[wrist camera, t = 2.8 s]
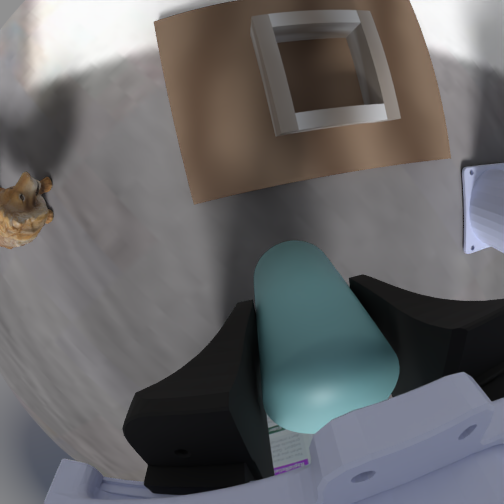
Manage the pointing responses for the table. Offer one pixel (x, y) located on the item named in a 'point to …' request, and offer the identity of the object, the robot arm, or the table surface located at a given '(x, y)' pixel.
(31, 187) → the lion figurine
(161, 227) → the table surface
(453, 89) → the table surface
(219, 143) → the socket board
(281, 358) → the peg
